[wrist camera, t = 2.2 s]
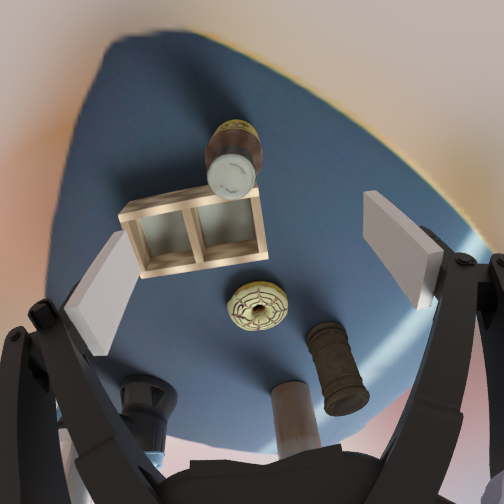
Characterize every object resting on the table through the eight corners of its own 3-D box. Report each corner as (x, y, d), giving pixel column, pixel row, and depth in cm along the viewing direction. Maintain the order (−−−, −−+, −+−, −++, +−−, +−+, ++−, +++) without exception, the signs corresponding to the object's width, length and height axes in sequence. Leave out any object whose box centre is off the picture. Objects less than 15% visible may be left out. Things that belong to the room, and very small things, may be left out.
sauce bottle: (246, 111, 39) (257, 124, 21) (264, 150, 42) (287, 193, 24) (205, 130, 40) (182, 158, 22) (223, 167, 43) (217, 223, 25)
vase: (263, 390, 70) (274, 491, 46) (298, 375, 68) (318, 479, 44) (282, 404, 74) (295, 496, 50) (314, 391, 72) (335, 484, 48)
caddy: (149, 260, 50) (141, 278, 45) (129, 201, 44) (117, 215, 39) (265, 241, 49) (268, 258, 44) (255, 176, 44) (257, 187, 39)
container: (313, 319, 59) (335, 392, 43) (352, 322, 60) (380, 390, 44) (299, 349, 63) (315, 419, 47) (336, 351, 64) (357, 416, 49)
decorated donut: (216, 302, 55) (215, 316, 52) (256, 265, 52) (258, 278, 48) (257, 328, 59) (258, 342, 56) (297, 296, 56) (300, 309, 52)
